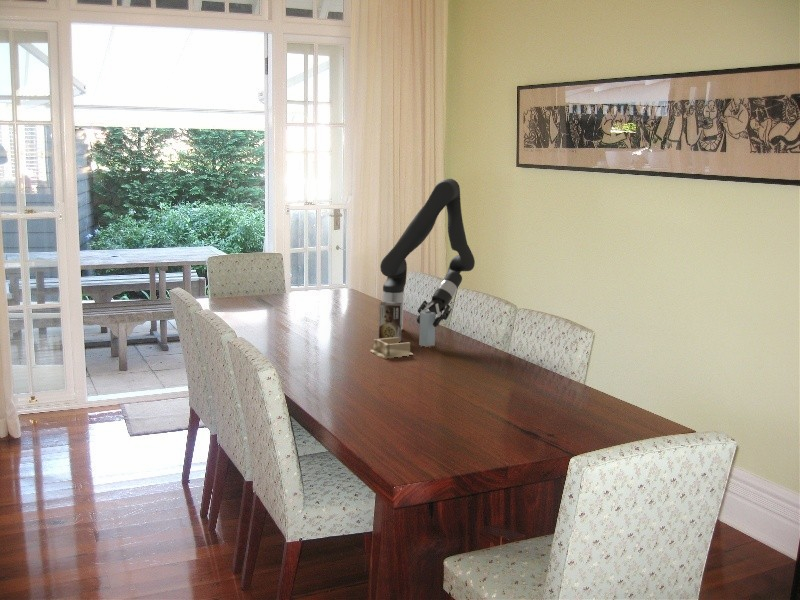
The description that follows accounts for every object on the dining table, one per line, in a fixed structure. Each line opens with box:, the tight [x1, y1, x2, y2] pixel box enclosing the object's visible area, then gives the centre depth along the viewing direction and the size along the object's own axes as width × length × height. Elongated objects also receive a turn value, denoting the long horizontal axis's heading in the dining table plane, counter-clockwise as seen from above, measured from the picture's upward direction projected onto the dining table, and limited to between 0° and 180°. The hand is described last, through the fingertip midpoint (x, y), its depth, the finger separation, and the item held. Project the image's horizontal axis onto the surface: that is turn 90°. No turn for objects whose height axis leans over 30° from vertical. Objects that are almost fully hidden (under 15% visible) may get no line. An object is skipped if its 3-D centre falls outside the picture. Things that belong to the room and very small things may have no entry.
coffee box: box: [378, 301, 402, 343], centre depth 370 cm, size 9×6×16 cm
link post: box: [418, 310, 437, 346], centre depth 363 cm, size 4×4×15 cm
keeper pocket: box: [369, 337, 414, 360], centre depth 350 cm, size 12×13×5 cm
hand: (426, 324), depth 362 cm, fingers open, 8 cm apart
